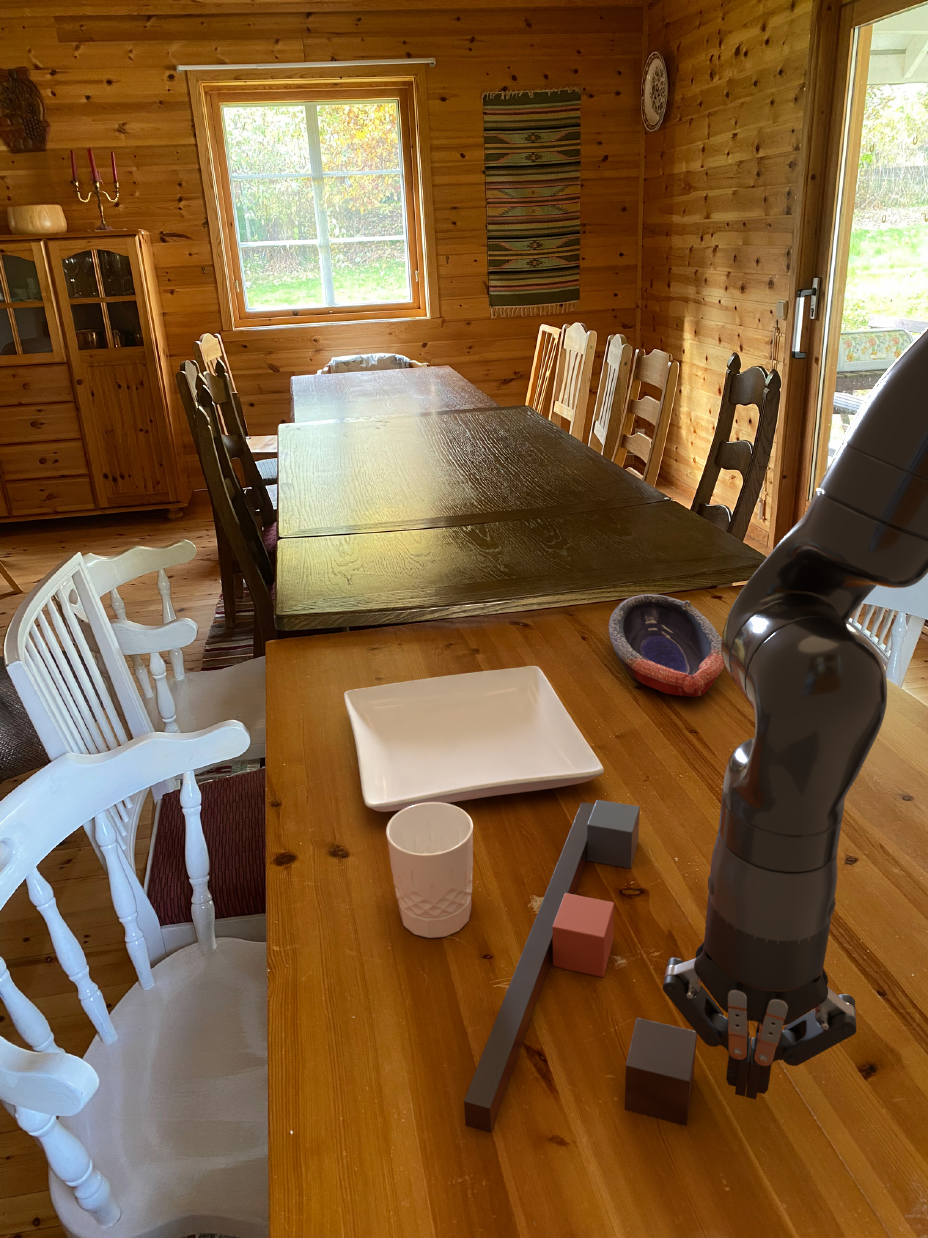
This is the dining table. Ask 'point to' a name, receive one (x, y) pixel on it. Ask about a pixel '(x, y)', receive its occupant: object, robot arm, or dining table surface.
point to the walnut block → (660, 1070)
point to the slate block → (613, 833)
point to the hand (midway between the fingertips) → (745, 1087)
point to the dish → (666, 644)
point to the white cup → (432, 867)
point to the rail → (525, 985)
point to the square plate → (465, 738)
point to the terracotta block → (583, 934)
